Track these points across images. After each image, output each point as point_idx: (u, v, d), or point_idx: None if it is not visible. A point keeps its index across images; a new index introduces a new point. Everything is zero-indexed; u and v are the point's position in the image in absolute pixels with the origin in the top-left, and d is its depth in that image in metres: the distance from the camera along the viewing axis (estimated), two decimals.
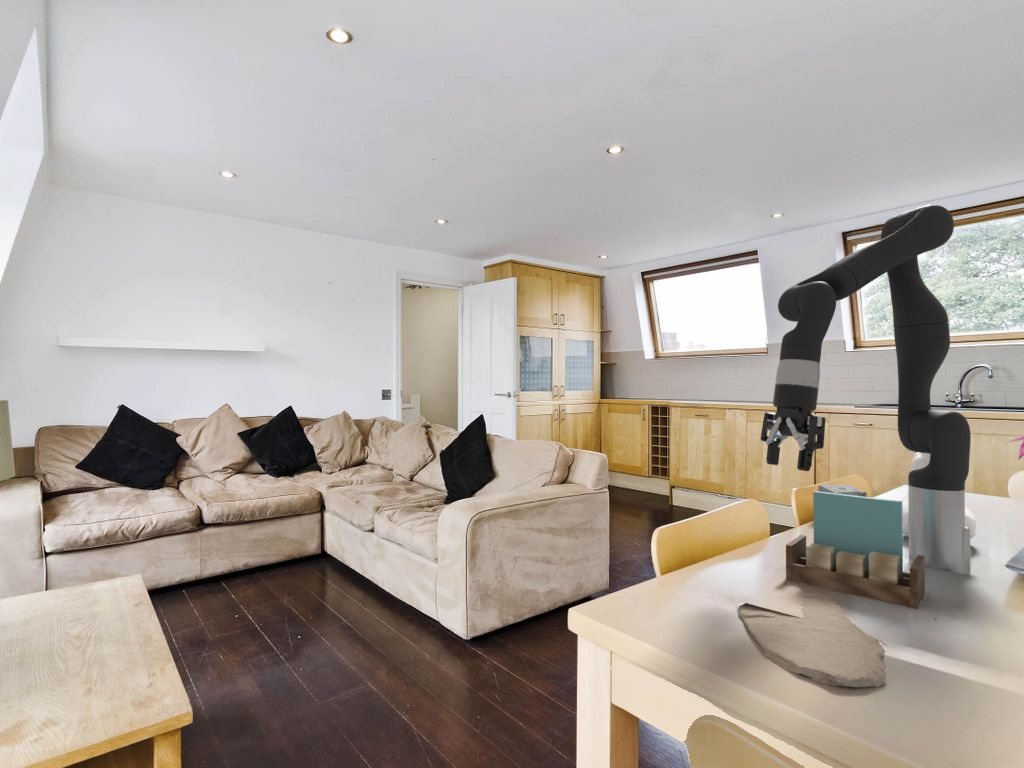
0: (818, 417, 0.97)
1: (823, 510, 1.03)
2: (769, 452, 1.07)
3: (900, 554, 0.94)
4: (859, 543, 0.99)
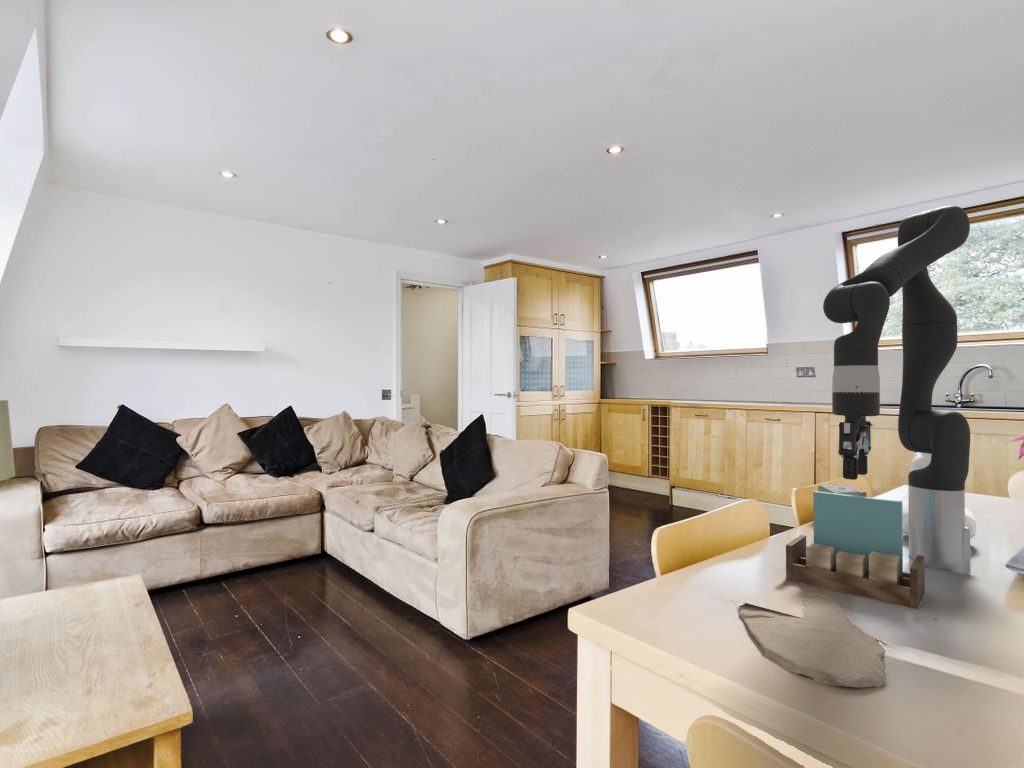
0: (845, 424, 0.95)
1: (823, 510, 1.03)
2: None
3: (900, 554, 0.94)
4: (859, 543, 0.99)
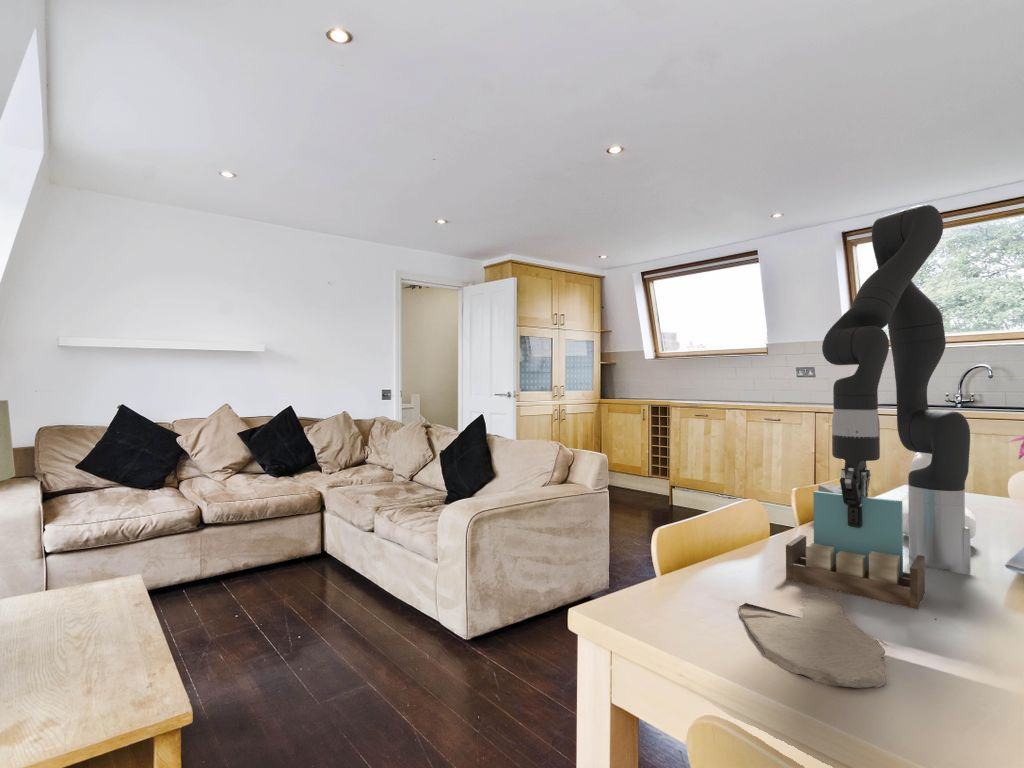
0: (846, 482, 0.95)
1: (824, 509, 1.03)
2: None
3: (900, 554, 0.94)
4: (859, 543, 0.99)
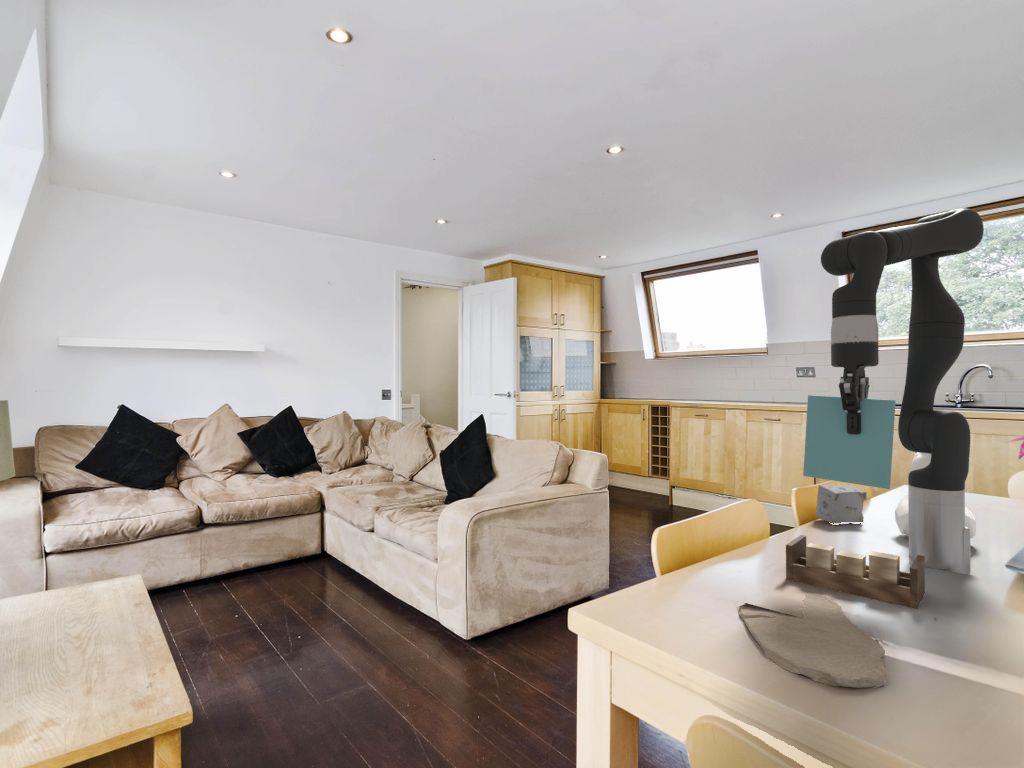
0: (845, 386, 0.96)
1: (817, 412, 1.04)
2: None
3: (890, 451, 0.96)
4: (850, 443, 1.00)
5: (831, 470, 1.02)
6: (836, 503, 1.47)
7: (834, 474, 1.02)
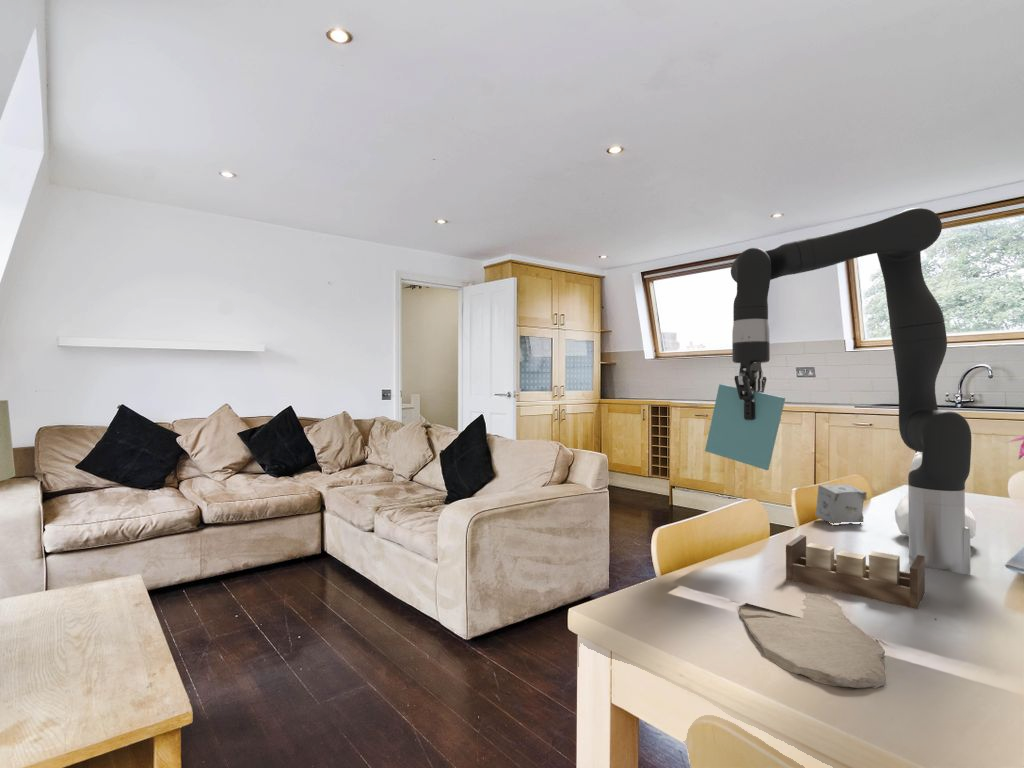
0: (739, 378, 1.13)
1: (724, 399, 1.21)
2: None
3: (772, 439, 1.14)
4: (744, 429, 1.18)
5: (726, 449, 1.21)
6: (836, 503, 1.47)
7: (728, 453, 1.20)
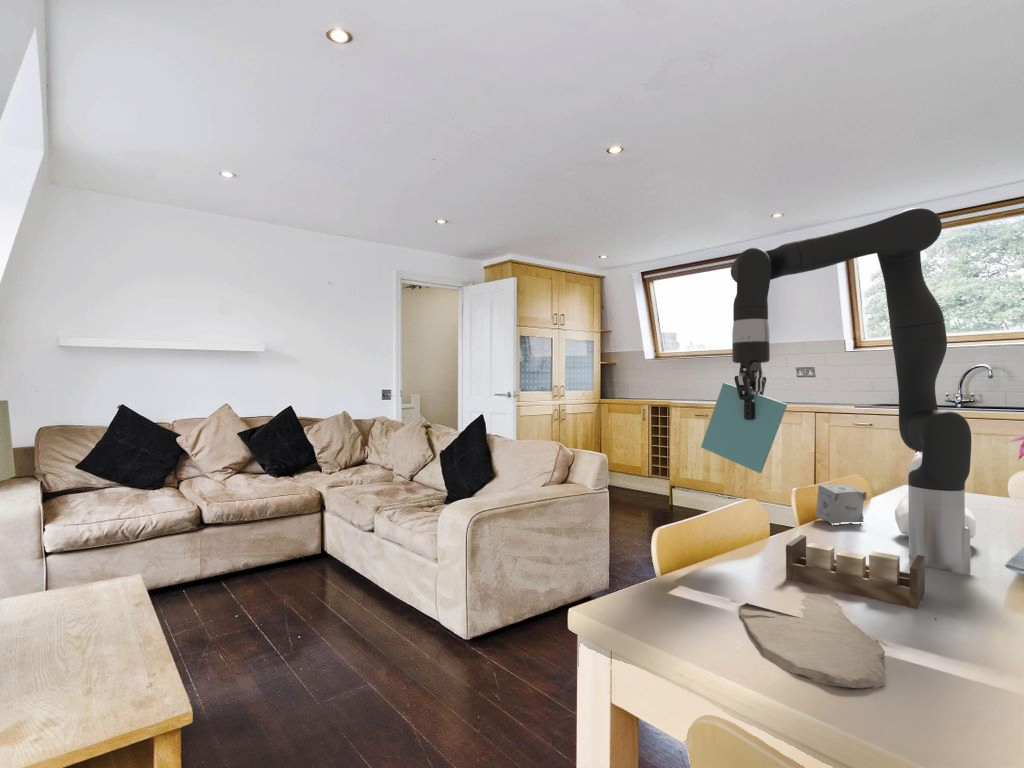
0: (739, 379, 1.13)
1: (726, 398, 1.21)
2: None
3: (769, 444, 1.14)
4: (742, 430, 1.18)
5: (722, 448, 1.21)
6: (836, 503, 1.47)
7: (723, 451, 1.21)
